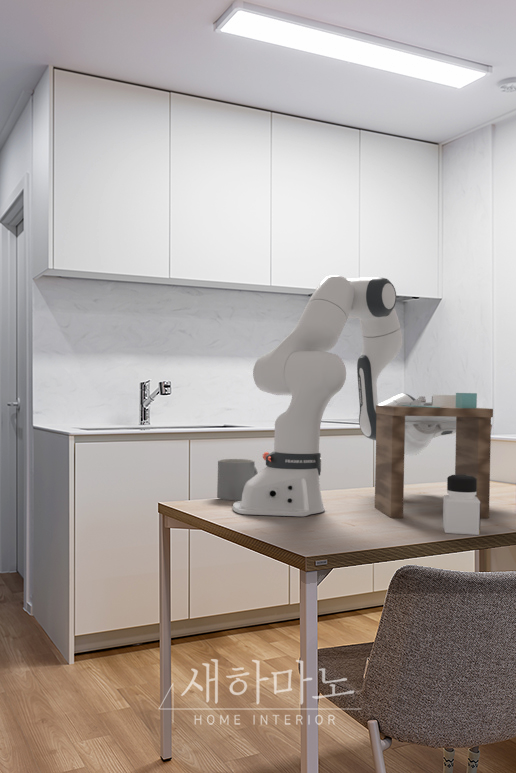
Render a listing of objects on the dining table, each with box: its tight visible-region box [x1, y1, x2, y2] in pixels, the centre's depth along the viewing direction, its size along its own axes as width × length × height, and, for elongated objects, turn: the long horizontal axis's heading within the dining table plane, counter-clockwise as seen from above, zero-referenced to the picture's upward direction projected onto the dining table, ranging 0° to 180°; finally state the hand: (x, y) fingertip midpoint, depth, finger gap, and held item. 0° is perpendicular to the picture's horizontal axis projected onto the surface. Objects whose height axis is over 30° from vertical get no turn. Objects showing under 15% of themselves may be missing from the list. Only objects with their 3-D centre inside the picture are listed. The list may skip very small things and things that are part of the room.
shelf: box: [374, 405, 494, 519], centre depth 171 cm, size 24×16×26 cm, turn 96°
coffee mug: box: [216, 458, 259, 502], centre depth 190 cm, size 13×10×10 cm
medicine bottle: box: [442, 474, 481, 536], centre depth 149 cm, size 7×7×12 cm
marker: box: [431, 392, 478, 408], centre depth 177 cm, size 23×4×4 cm, turn 6°
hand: (440, 399), depth 185 cm, fingers open, 8 cm apart
